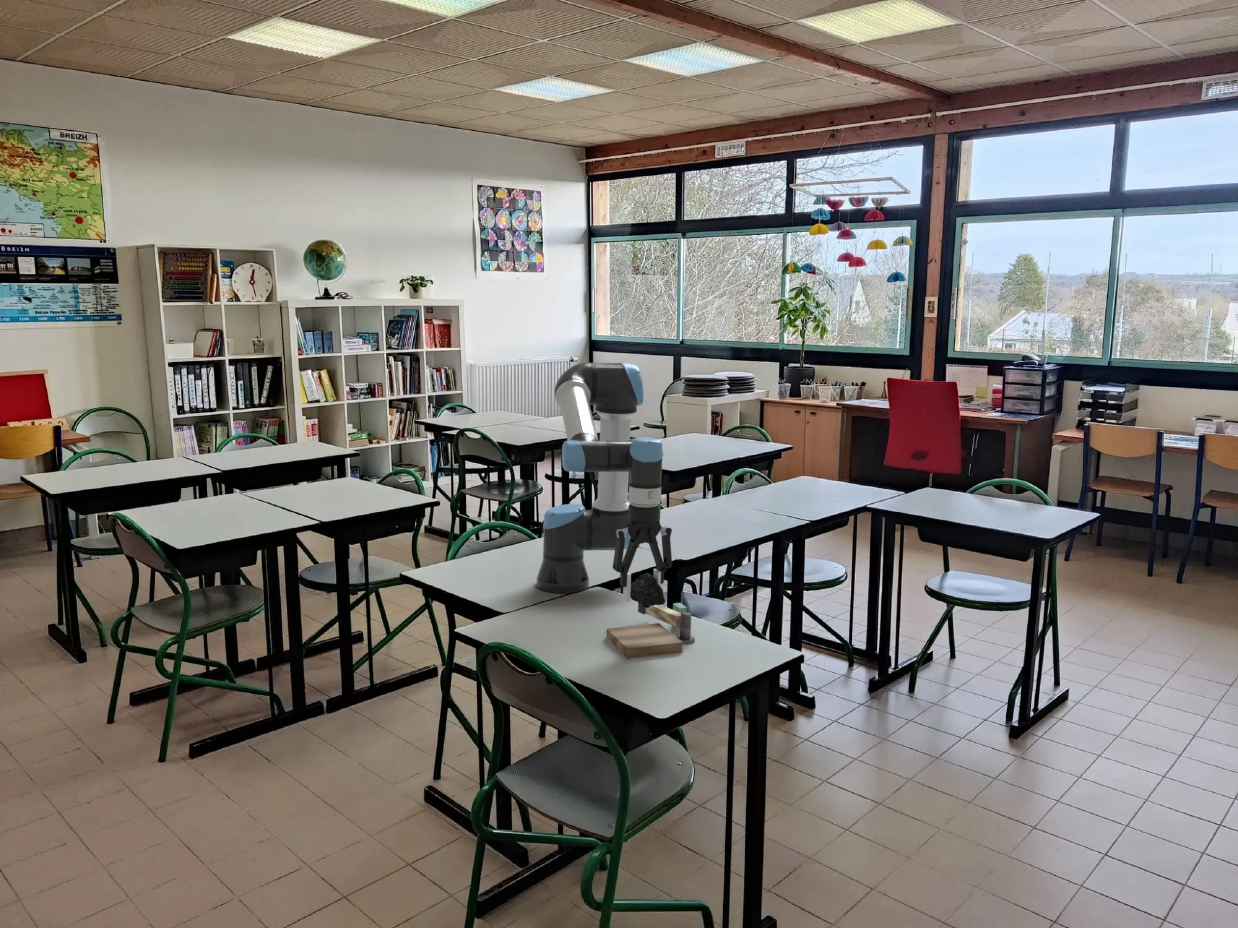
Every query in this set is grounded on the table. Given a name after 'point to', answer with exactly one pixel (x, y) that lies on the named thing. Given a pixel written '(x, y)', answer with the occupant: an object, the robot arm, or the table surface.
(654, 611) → the leg
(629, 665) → the table surface
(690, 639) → the seat
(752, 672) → the table surface
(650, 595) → the rock
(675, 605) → the pale green block
